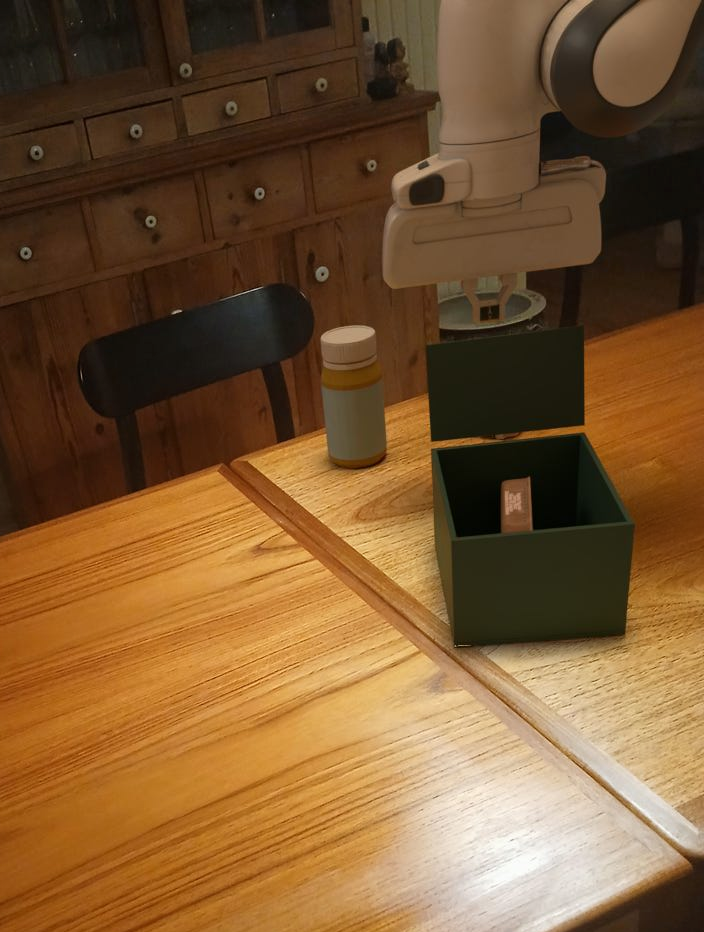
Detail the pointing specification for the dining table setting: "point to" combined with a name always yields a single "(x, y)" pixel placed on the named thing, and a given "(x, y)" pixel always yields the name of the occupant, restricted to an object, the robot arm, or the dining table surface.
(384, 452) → the bottle
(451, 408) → the flap
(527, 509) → the tin
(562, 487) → the green hinged-lid box
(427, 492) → the dining table surface
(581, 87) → the robot arm
